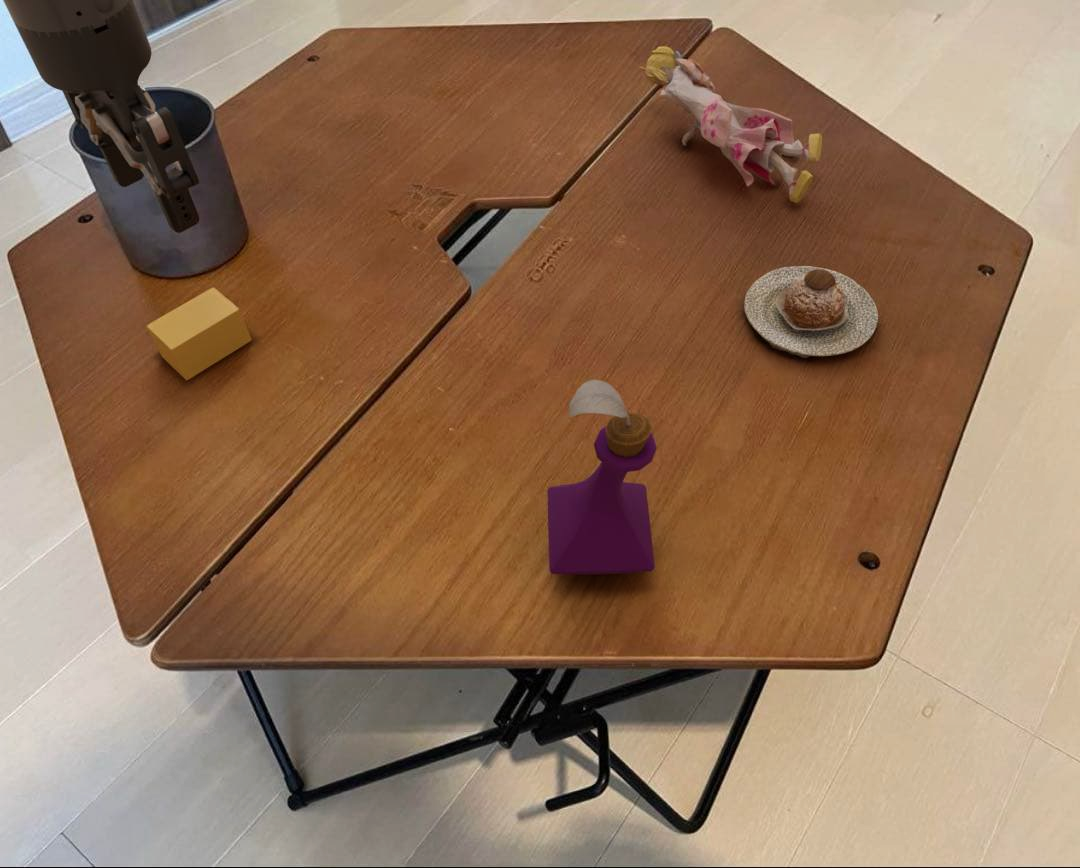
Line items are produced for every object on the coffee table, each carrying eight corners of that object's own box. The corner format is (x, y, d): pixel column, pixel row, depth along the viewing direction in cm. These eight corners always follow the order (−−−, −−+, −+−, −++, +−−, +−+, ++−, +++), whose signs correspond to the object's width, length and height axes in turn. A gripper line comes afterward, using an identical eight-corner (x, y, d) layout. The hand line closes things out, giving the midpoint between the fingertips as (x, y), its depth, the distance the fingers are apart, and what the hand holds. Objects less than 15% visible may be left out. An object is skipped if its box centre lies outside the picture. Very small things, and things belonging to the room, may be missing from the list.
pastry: (889, 362, 80) (904, 324, 76) (753, 366, 80) (762, 329, 77) (857, 272, 88) (869, 234, 84) (733, 276, 88) (740, 238, 84)
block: (186, 381, 81) (171, 350, 78) (161, 356, 83) (145, 325, 80) (252, 340, 84) (239, 309, 81) (226, 318, 86) (213, 286, 83)
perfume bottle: (643, 508, 71) (659, 348, 57) (652, 592, 66) (672, 440, 52) (548, 511, 71) (541, 352, 57) (550, 595, 67) (543, 444, 53)
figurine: (765, 245, 96) (620, 113, 107) (848, 181, 97) (697, 56, 107) (768, 175, 85) (607, 35, 96) (863, 104, 86) (693, -27, 96)
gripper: (-32, -14, 61) (73, 188, 74) (66, 58, 54) (162, 266, 67) (72, -51, 64) (155, 148, 77) (176, 13, 58) (248, 219, 70)
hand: (158, 203), depth 72 cm, fingers open, 8 cm apart
